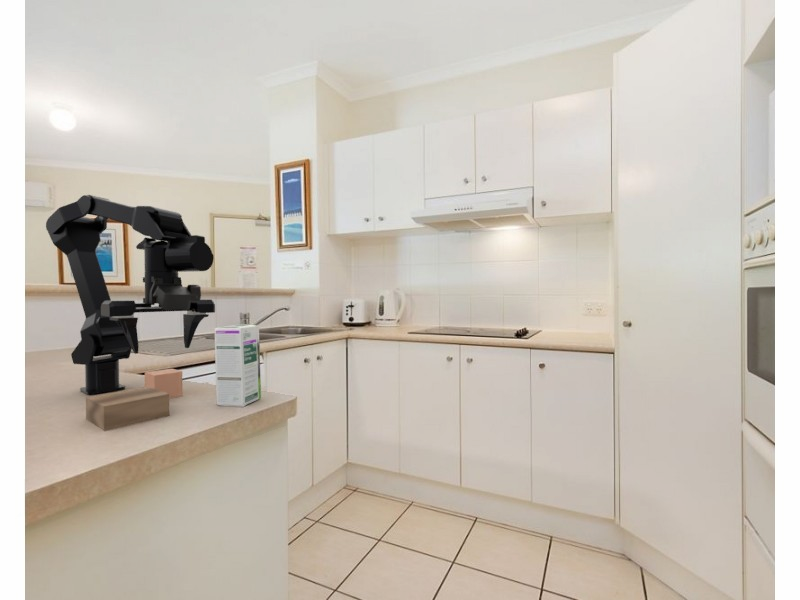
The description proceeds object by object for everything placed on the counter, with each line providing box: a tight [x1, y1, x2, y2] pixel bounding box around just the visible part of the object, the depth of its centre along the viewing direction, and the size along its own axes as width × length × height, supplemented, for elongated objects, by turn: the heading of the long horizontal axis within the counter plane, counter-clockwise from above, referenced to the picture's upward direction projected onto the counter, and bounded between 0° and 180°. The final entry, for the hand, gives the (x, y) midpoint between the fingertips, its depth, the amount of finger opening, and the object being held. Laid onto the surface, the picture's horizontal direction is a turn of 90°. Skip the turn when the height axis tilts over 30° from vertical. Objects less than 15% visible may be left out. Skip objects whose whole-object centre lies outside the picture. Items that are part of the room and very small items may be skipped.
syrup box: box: [213, 323, 262, 408], centre depth 73 cm, size 6×6×14 cm
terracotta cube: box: [144, 368, 183, 399], centre depth 77 cm, size 5×5×5 cm
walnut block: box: [85, 386, 170, 432], centre depth 64 cm, size 9×9×4 cm
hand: (162, 350), depth 77 cm, fingers open, 9 cm apart
